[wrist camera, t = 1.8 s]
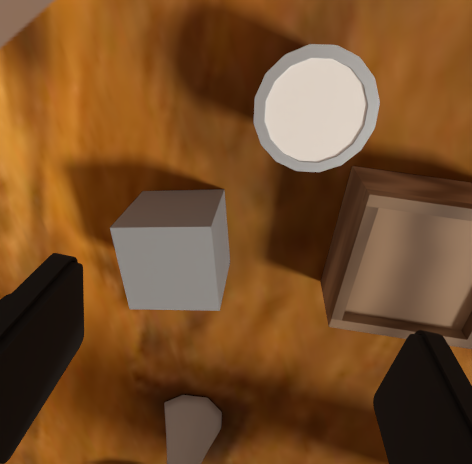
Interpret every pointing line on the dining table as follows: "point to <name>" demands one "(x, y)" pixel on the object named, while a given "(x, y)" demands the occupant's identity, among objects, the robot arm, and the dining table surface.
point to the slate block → (174, 250)
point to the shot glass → (316, 108)
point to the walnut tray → (402, 257)
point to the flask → (190, 428)
